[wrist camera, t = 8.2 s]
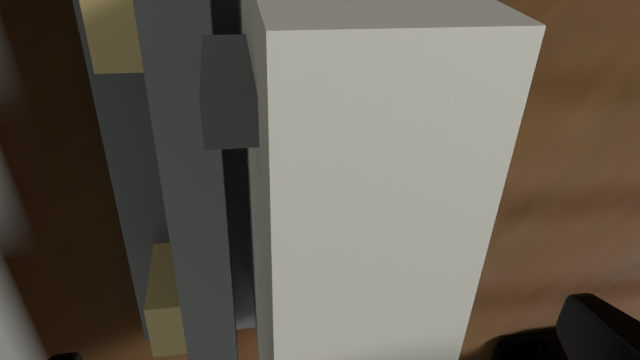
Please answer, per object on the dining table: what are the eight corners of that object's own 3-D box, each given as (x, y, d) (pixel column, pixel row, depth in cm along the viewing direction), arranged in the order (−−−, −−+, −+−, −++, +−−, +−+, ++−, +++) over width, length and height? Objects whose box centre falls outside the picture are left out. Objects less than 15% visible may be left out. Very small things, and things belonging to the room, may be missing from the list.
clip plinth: (414, 287, 22) (452, 369, 19) (148, 315, 20) (135, 411, 17) (492, -156, 14) (589, -160, 10) (48, -178, 12) (-20, -192, 8)
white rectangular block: (331, 294, 20) (405, 562, 12) (231, 304, 19) (244, 594, 12) (353, -73, 13) (546, 25, 6) (199, -75, 12) (182, 32, 5)
